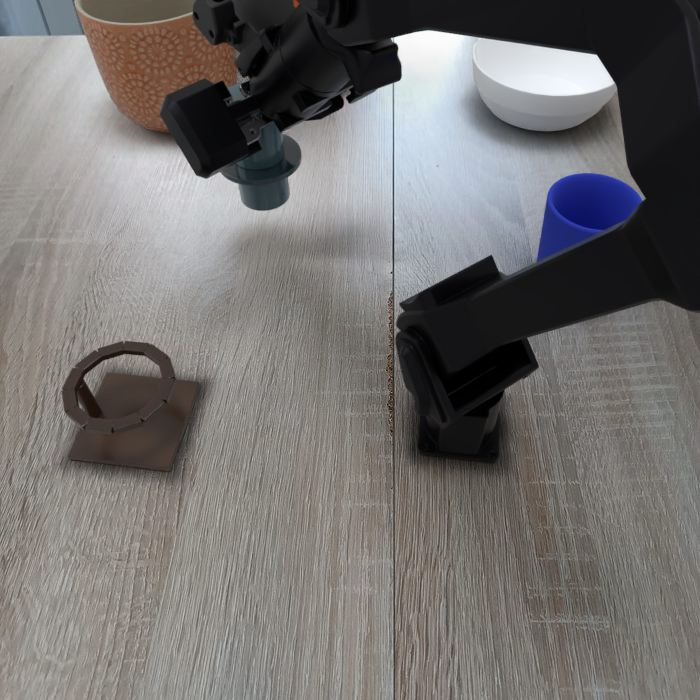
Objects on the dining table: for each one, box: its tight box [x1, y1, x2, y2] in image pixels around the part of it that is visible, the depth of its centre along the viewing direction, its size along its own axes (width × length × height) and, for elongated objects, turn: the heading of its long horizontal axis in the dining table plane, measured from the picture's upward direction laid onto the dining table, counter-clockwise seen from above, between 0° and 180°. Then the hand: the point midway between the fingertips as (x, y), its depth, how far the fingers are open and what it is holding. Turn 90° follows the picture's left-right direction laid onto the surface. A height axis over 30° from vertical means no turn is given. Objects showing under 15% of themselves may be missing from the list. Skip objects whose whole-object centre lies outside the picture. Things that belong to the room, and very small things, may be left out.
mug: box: [536, 172, 644, 262], centre depth 61 cm, size 8×12×10 cm
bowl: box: [471, 38, 617, 132], centre depth 81 cm, size 18×18×7 cm
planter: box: [74, 0, 238, 134], centre depth 80 cm, size 17×17×15 cm
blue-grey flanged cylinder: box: [220, 81, 303, 212], centre depth 60 cm, size 8×8×10 cm
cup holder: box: [61, 340, 201, 472], centre depth 54 cm, size 9×9×6 cm
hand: (247, 129), depth 59 cm, fingers closed on blue-grey flanged cylinder, 5 cm apart
